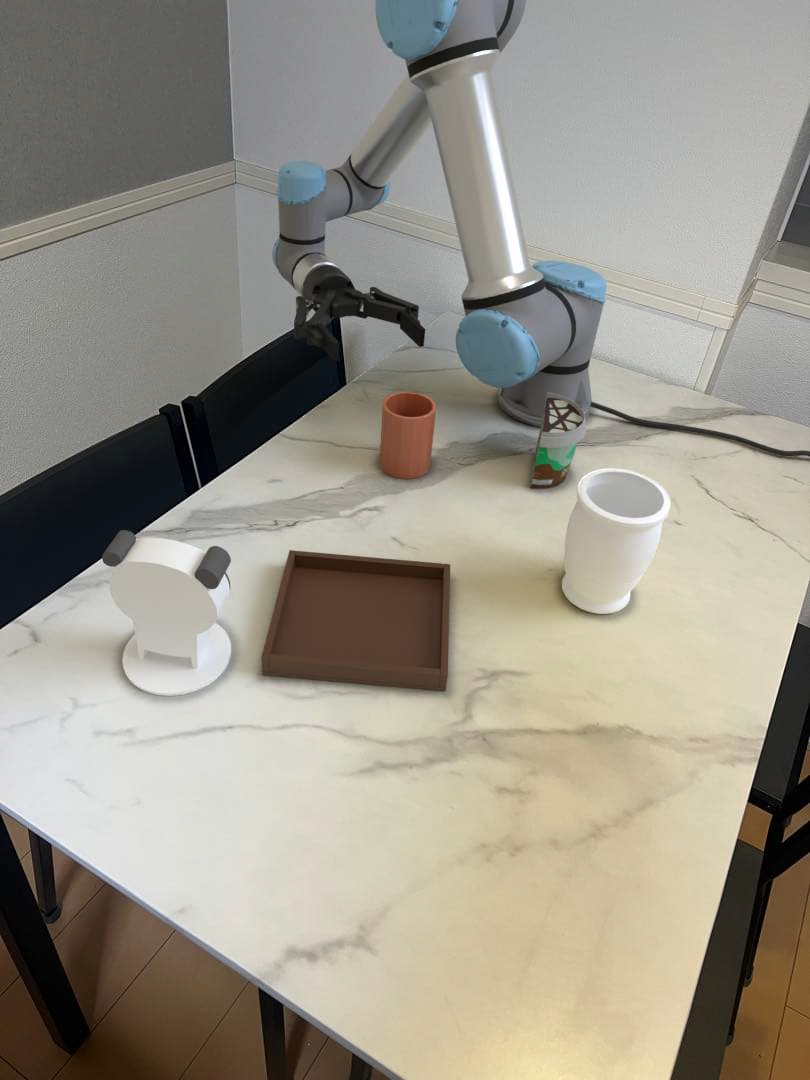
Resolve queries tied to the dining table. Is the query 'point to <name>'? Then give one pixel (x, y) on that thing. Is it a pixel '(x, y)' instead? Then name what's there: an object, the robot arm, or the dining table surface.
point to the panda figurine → (170, 611)
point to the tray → (361, 621)
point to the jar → (612, 537)
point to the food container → (557, 441)
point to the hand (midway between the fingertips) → (380, 345)
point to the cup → (407, 434)
